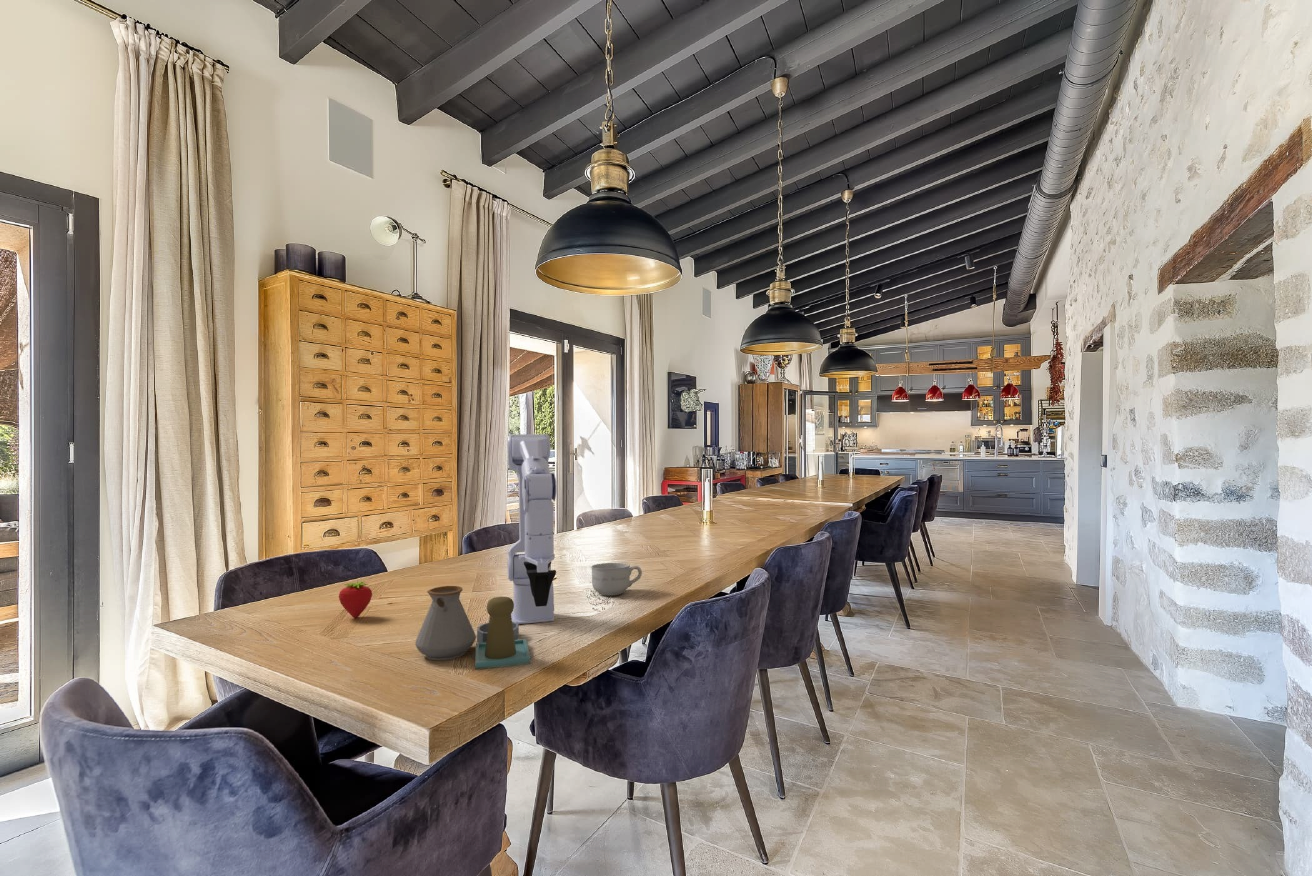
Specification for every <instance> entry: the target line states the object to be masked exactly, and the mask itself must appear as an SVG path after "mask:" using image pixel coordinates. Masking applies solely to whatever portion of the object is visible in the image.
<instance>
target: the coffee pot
mask: <svg viewBox="0 0 1312 876" xmlns="http://www.w3.org/2000/svg"><path fill="white" fill-rule="evenodd" d="M461 592H463V587H462V586H458V585H443V586H442V585H441V586H438V587H433V588H431V589H428V590H427V591H426V593H427V594H428V596H429V597H430V598H431V600H432V601H431V604H430V607H429V608H428V611H427V613H426V615H425V618H424V619H423V623H422V625H421V627H420V629H419V632H418V635H417V637H416V639H415V647H416V649H417V651H419V652H420V653H421V654H422V655H424V656H425V658H426V659H429V660H432V661H446V660H453V659H457V658H460V657H462V656H464V655H465V654H466V653H467V651H468V650H470V648H471V647H472V646H473V645H474V643H475V641H476V640H477V634H476V633H475V630H474V629H473V626H472V624H471V622H470V619H469V617H468V615H467V613H466V610H465V609H464V607H463V604H462V602H461V599H460V596H461Z"/></svg>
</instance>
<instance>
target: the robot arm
mask: <svg viewBox="0 0 1312 876" xmlns="http://www.w3.org/2000/svg"><path fill="white" fill-rule="evenodd" d="M506 441H507V443H506V448H507V449H506V451H507V452H506V455H507V466H508V469H509V470H511V471H513V472H515V473H516V478H517V481H518V518H519V519H518V520H519V521H518V524H519V525H518V528H519V532H518V533H519V539H518V540H517V541H516V542H515V543H513V544H512V545H511V546H510V547H509V549H508V551H507V562H506V564H507V579H508V581H510V582H512V583H513V603H514V609H513V612H512V613H511V618H512V622H515V623H518V625H521V624H524V625H525V624H534V623H546V622H554V621H555V617H554V616H555V615H554V614H555V599H554V595H555V594H554V584H553V583H554V582H553V581H554V578H555V577H556V575H557V571H556V569H552V565H551V564H552V561H554V560H555V555H556V554H554V549H555V548H554V545H555V543H554V539H555V538H554V536H555V535H554V524H555V523H554V522H555V521H554V515H555V513H554V509H555V508H554V506H555V505H554V502H555V501H556V500H557V499H556V498H557V491H558V490H557V489H558V488H557V478H556V474H555V472H551V471H550V467H549V459H550V457H551V437H550V436H549V433H544V434H541V433H540V434H537V433H536V434H535V433H533V434H528V433H527V434H526V433H525V434H521V433H520V434H516V433H515V434H512V433H509V434H508V435H507V438H506ZM517 553H518V554H517Z"/></svg>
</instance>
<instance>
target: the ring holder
mask: <svg viewBox="0 0 1312 876" xmlns="http://www.w3.org/2000/svg"><path fill="white" fill-rule="evenodd" d="M512 625H513V632H514V640H519V639H520V635H519V633H520V631H519V629H520V628H519V624H518V623H515V622H512ZM488 626H489V622H484V623H482V624H480V625H479V626H477V627H476V642H477V643H486V641H487V633H488ZM518 638H519V639H518Z"/></svg>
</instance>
